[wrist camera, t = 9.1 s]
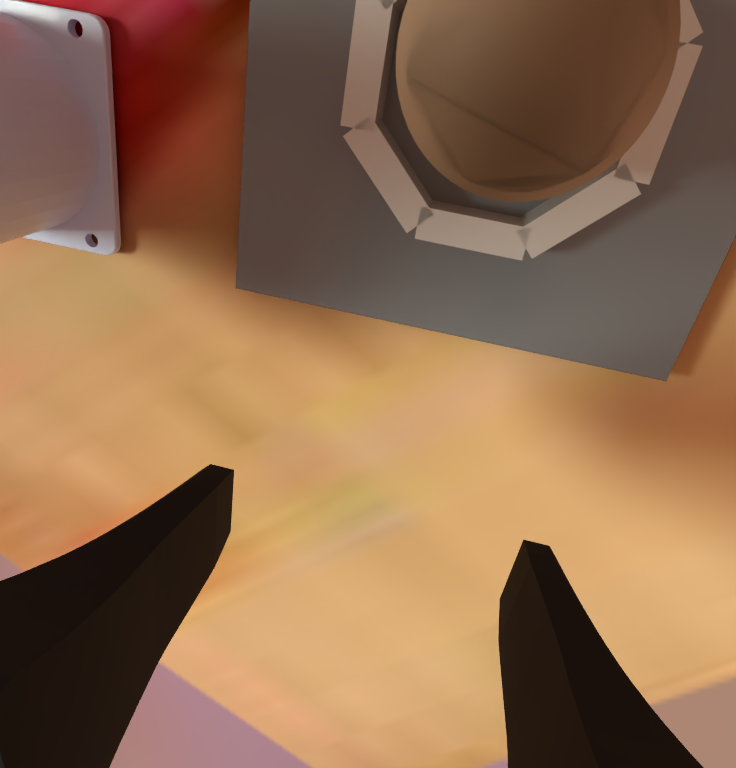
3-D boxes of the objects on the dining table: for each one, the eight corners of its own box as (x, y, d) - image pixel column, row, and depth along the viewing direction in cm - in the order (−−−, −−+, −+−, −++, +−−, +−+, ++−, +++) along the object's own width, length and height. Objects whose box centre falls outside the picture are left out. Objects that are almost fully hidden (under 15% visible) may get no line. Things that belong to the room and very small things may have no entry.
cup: (398, 146, 18) (374, 175, 12) (438, -68, 15) (428, -145, 10) (567, 180, 17) (614, 224, 12) (637, -30, 15) (736, -88, 10)
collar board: (245, 280, 22) (219, 300, 20) (279, -318, 14) (244, -394, 12) (657, 369, 21) (679, 401, 19) (936, -230, 13) (1029, -296, 11)
